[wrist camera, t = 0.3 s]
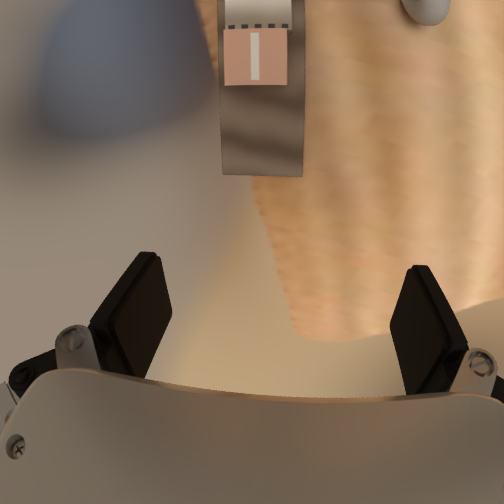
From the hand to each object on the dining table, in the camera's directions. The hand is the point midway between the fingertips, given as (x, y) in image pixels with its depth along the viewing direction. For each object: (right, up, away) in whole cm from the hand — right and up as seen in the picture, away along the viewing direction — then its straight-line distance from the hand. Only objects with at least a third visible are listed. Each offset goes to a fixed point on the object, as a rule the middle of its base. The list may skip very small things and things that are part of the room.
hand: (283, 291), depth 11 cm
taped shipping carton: (0, +23, +18) cm, 29 cm away
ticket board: (0, +27, +17) cm, 32 cm away
